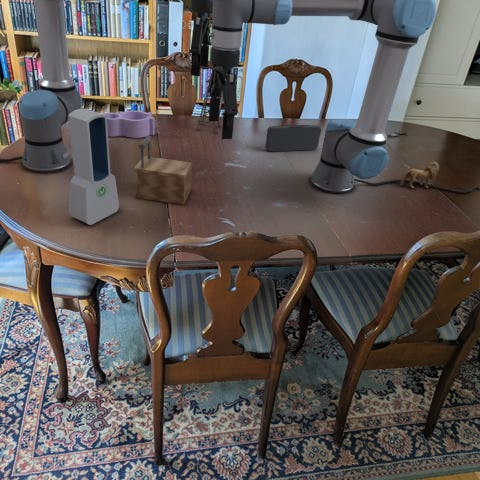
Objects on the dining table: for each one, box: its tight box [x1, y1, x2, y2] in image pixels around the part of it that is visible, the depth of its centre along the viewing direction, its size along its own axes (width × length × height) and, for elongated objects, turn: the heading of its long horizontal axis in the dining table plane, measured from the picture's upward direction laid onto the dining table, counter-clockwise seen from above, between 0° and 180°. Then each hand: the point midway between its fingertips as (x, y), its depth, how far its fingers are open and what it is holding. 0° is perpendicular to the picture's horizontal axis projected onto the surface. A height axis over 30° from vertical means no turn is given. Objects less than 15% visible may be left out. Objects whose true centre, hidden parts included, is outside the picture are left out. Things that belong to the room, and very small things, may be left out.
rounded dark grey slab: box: [264, 124, 322, 152], centre depth 189 cm, size 23×3×10 cm, turn 108°
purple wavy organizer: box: [102, 110, 156, 139], centre depth 189 cm, size 20×12×7 cm, turn 109°
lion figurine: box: [399, 161, 440, 189], centre depth 170 cm, size 15×5×9 cm, turn 110°
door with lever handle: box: [133, 135, 193, 179], centre depth 142 cm, size 16×10×9 cm, turn 83°
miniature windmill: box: [196, 65, 221, 133], centre depth 195 cm, size 9×8×30 cm
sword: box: [386, 132, 406, 138], centre depth 214 cm, size 31×3×1 cm, turn 126°
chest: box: [136, 166, 192, 205], centre depth 147 cm, size 15×10×9 cm
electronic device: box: [68, 108, 120, 226], centre depth 127 cm, size 12×8×30 cm, turn 148°
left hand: (199, 70), depth 150 cm, fingers open, 13 cm apart
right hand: (219, 129), depth 128 cm, fingers open, 13 cm apart
